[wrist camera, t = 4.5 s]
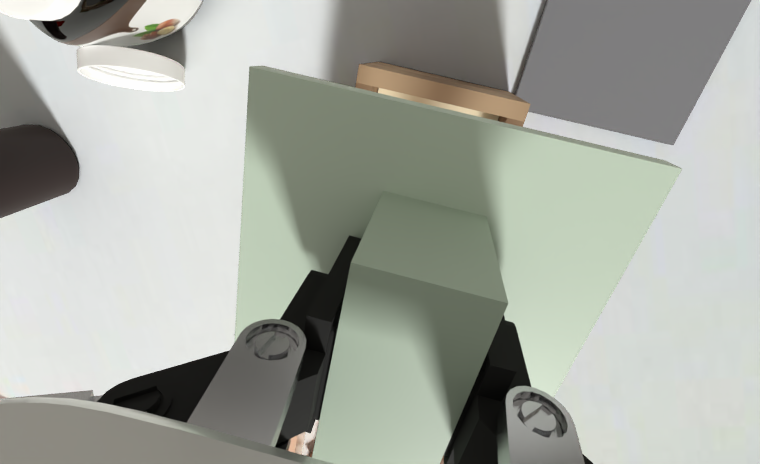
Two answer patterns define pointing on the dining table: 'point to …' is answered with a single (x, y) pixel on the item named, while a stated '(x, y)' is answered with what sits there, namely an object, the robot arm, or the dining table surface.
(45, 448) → the robot arm
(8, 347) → the dining table surface
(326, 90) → the lid
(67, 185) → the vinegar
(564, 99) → the mat
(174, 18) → the spread jar
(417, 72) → the box
